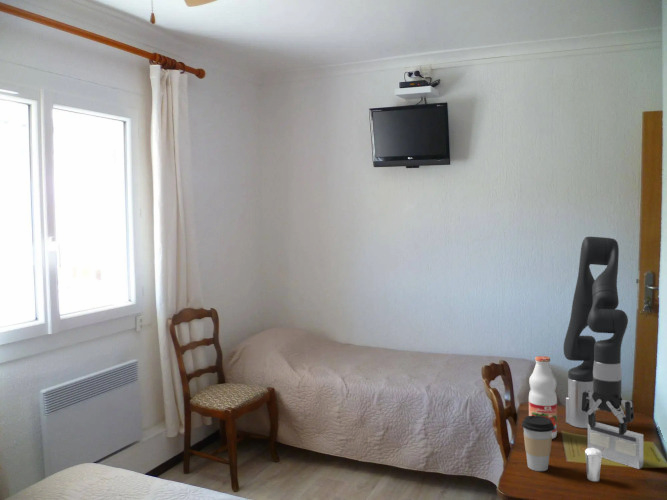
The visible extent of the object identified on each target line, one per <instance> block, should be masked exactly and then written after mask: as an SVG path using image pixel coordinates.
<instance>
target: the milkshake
mask: <svg viewBox="0 0 667 500" xmlns="http://www.w3.org/2000/svg"><path fill="white" fill-rule="evenodd" d="M604 448H605V446H604ZM604 448H603V450H604ZM603 450H602V452H603ZM602 452H601V451H600V450H598V449H596V448H588V447H587V448H585V450H584V455H585V463H586V466H585V467H586V475H587V476H586V478H587V479H588V481H591V482H600V476H601V474H600V473H601V464H602V459H603V458H602Z"/></svg>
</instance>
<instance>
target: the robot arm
mask: <svg viewBox="0 0 667 500" xmlns="http://www.w3.org/2000/svg"><path fill="white" fill-rule="evenodd" d="M618 243H619V242H618V241H617V240H616V239H615V238H610V237H602V236H586V237H584V239H583V241H582V243H581V247H580V255H579V265H578V275H577V281H576V285H575V289H574V293H573V299H572V305H571V312H570V319H569V324H568V327H567V330H566V335H565V337H564V342H563V355H564V357H565V359H566V360H569V361H575V362H576V361H577V362H579V361H581V362H582V361H583V362H582V363H580V364H579V365H577V366H575V367H572V368H570V369H569V370H568V372H567V373H568V374H567V396H566V397H565V423H567V424H569V425H570V426H572V427H576V428H580V429H588V424H589V425H590V427H592V428H593V427H595V425H596V422H597V421H596V419H597V418H596V412H597V411H598V410H601V411H606V412H608V413H613V415H614V416H615V417H616V418H617V420H618V421H619V422H618V428H619V435H624V434H625V433H626V432H627V427H628V423H631V422H633V421H634V420H635V413H634V401H633V400H632V399H628V400H627V399H626V400H625V399H623V398H622V375H623V374H622V364H621V362H622V361H621V360H622V359H621V354H622V352H621V351H622V344H623V339H624V336H625V333H626V330H627V328H628V323H629V317H628V315H627V313H626V312H625V311H624V310H622V309H617V308H618V306H619V303H620V302H619V301H620V300H619V294H618V273H619V255H620V254H619V253H620V252H619V251H620V250H619V249H620V248H619V244H618ZM590 265H597V266H606V267H605V269H604V270H603V271H602V272H601V273H600V274H598V276H597V277H596V278H594V276H593V274H592V271H591V268H590ZM587 327H588V328H589V329H590V331H592V332H594V333H597V334H612V336H611V337H610V338H607V339H602V340H601V339H600V340H596V339H595V337H594V336H592V335H581V334H582V332H583V331H584V330H585V329H586V328H587ZM621 405H622V406H623V408H624V409H625V413H624V410H623V409H622V407H621Z"/></svg>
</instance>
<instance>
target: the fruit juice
mask: <svg viewBox="0 0 667 500" xmlns="http://www.w3.org/2000/svg"><path fill="white" fill-rule="evenodd" d="M550 363H551V358H550V357H549V356H546V355H537V356H535V365H534V369H533V370H532V373H531V375H530V376H529V379H528V383H529V384H528V385H529V388H530V390H529V393H528V416H543V417H546V418H549V419H550V420H551V422H552V423H553V425H554V429H553V430H552V440H553V439H556V437H557V434H558V398H557V393H556V387H557V379H556V377H555V376H554V374H553V371H552V367H551V365H550Z"/></svg>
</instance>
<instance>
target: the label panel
mask: <svg viewBox="0 0 667 500" xmlns="http://www.w3.org/2000/svg"><path fill="white" fill-rule="evenodd" d="M604 446H605V448H604ZM587 448H596V449H598V450H600V451H601V452H602V450H603V448H604V450H603V452H602V458H601V459H606V460H609V461H612V462H614V463H619V464H622V465H625V466H627V467H628V466H629V467H631V468H634V469H638V470H640V469H642V468H643V467H644V434H643V433H639V432H634V431H632V430H631V431H630V430H627V432H626V433H625V434H624V435H619V427H617V426H613V425H609V424H605V423H602V422H597V421H596V425H595V427H593V428H592V427H590V425H589V424H588V428H587Z"/></svg>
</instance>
